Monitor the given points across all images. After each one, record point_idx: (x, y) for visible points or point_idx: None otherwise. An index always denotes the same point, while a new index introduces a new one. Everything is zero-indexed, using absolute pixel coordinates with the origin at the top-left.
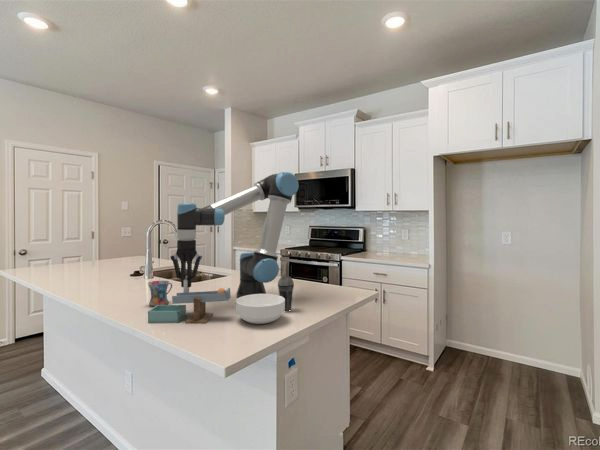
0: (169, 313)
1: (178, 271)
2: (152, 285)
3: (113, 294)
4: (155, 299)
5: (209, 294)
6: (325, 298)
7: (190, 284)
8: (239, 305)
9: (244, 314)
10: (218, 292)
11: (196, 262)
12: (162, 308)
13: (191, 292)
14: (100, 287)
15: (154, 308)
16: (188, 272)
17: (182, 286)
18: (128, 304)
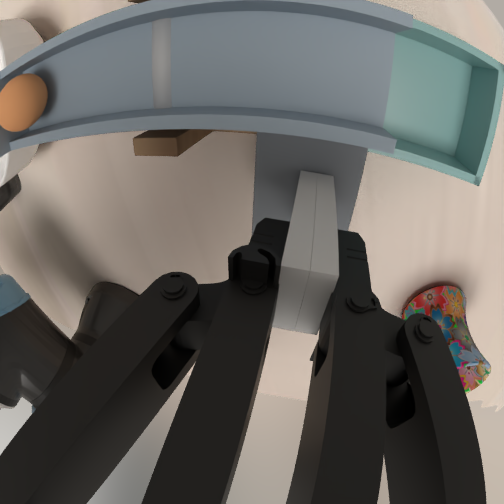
0: None
1: (425, 422)
2: (483, 360)
3: (491, 378)
4: (456, 310)
5: (58, 35)
6: (10, 257)
7: (252, 238)
8: (1, 32)
9: (16, 20)
10: (20, 78)
11: (13, 479)
12: (447, 161)
13: (232, 114)
14: (487, 403)
15: (487, 127)
16: (224, 382)
17: (350, 235)
18: (501, 318)
